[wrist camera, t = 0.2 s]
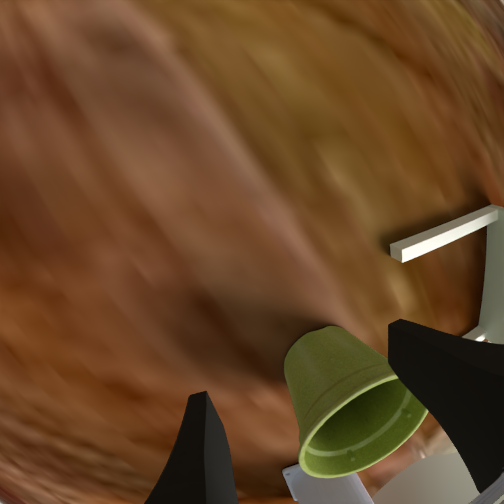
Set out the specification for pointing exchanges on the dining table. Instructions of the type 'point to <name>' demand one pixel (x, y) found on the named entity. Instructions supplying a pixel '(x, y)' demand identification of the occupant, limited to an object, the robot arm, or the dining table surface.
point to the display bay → (496, 269)
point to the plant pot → (346, 403)
